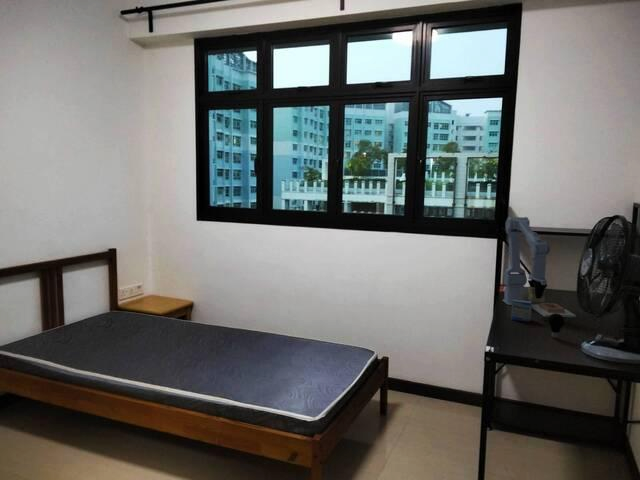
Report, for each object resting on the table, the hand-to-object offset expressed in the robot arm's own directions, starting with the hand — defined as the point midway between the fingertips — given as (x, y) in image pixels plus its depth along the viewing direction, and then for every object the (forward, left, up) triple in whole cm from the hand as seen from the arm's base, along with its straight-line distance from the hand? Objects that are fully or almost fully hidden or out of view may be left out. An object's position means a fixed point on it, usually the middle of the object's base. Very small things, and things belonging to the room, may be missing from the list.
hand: (536, 297), depth 217 cm
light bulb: (+32, -5, -9) cm, 34 cm away
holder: (-8, +11, -9) cm, 16 cm away
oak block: (0, 0, -2) cm, 2 cm away
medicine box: (+7, -9, -9) cm, 15 cm away
